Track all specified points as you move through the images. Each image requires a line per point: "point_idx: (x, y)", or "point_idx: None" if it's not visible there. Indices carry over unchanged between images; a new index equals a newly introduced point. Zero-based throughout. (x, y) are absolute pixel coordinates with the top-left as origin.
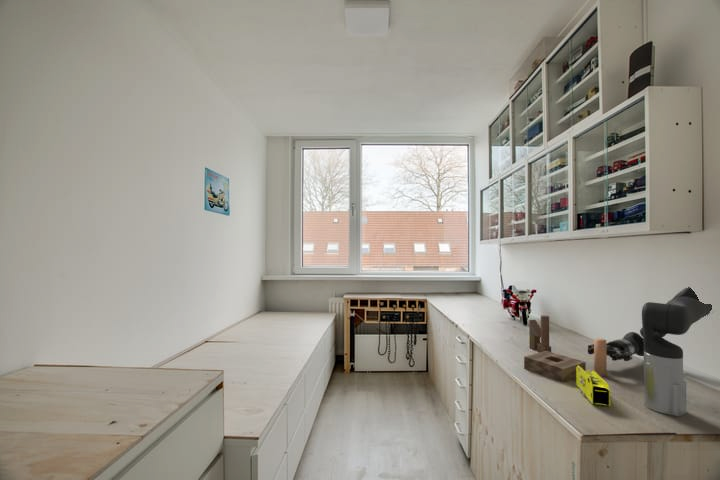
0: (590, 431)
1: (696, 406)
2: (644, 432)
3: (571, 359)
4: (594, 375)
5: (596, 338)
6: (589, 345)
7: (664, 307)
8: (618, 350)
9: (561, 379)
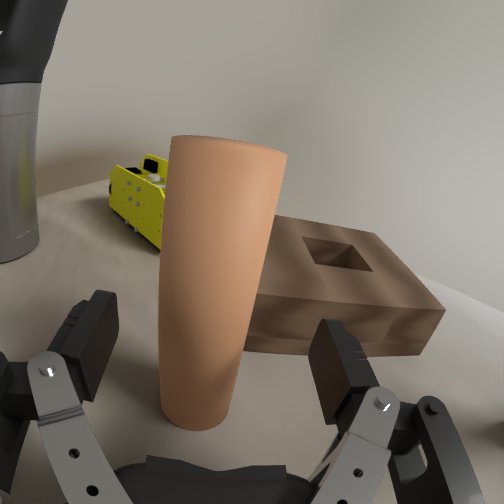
0: None
1: None
2: (68, 189)
3: (314, 284)
4: (153, 196)
5: (280, 155)
6: (432, 402)
7: None
8: (54, 439)
9: None
